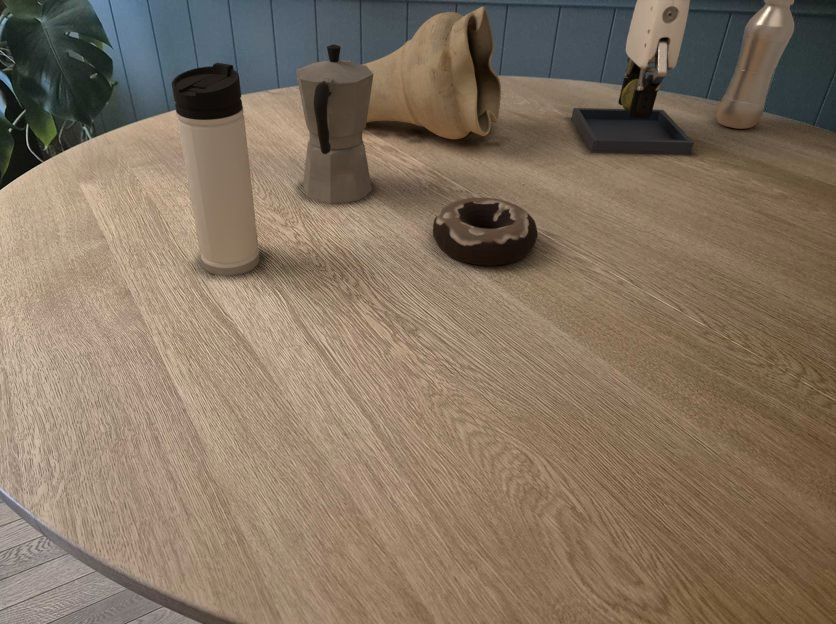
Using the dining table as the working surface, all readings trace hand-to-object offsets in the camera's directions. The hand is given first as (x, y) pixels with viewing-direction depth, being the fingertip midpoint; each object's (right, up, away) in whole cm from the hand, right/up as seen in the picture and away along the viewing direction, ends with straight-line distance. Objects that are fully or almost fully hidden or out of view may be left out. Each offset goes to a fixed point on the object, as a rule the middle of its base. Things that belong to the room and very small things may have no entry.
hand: (633, 109), depth 101 cm
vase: (-34, -2, +5) cm, 34 cm away
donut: (-27, -25, -25) cm, 45 cm away
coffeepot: (-45, -16, -14) cm, 50 cm away
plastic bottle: (+19, 0, +7) cm, 20 cm away
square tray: (0, -3, +3) cm, 4 cm away
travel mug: (-56, -27, -28) cm, 68 cm away
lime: (0, -1, 0) cm, 1 cm away
